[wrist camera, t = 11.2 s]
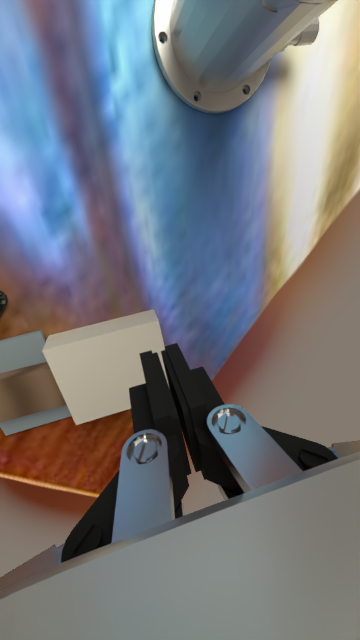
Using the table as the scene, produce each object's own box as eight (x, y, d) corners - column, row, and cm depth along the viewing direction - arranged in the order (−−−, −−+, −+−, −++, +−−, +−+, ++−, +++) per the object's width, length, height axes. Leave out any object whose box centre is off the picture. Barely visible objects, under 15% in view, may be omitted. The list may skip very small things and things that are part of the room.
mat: (41, 329, 35) (40, 331, 34) (77, 411, 41) (77, 414, 40) (-44, 350, 33) (-46, 353, 33) (7, 432, 39) (5, 435, 39)
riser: (153, 309, 38) (158, 320, 34) (169, 378, 43) (175, 394, 39) (48, 335, 35) (42, 350, 32) (78, 405, 41) (76, 425, 37)
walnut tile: (55, 359, 36) (53, 367, 35) (70, 394, 39) (68, 403, 37) (-18, 377, 35) (-24, 387, 33) (2, 412, 37) (-3, 423, 36)
